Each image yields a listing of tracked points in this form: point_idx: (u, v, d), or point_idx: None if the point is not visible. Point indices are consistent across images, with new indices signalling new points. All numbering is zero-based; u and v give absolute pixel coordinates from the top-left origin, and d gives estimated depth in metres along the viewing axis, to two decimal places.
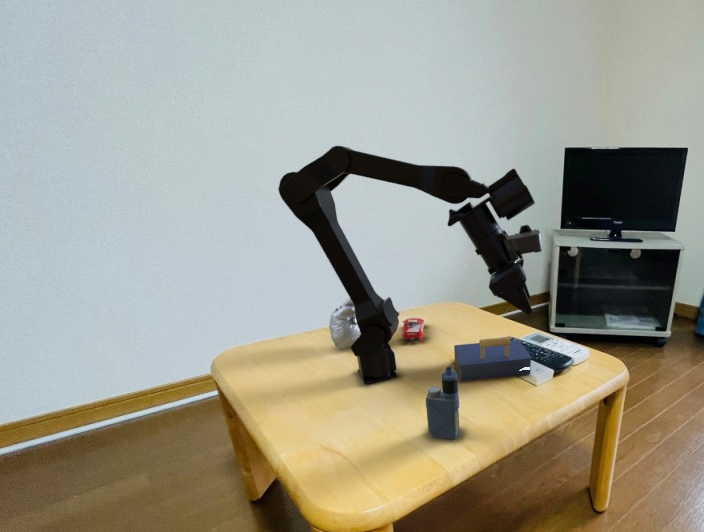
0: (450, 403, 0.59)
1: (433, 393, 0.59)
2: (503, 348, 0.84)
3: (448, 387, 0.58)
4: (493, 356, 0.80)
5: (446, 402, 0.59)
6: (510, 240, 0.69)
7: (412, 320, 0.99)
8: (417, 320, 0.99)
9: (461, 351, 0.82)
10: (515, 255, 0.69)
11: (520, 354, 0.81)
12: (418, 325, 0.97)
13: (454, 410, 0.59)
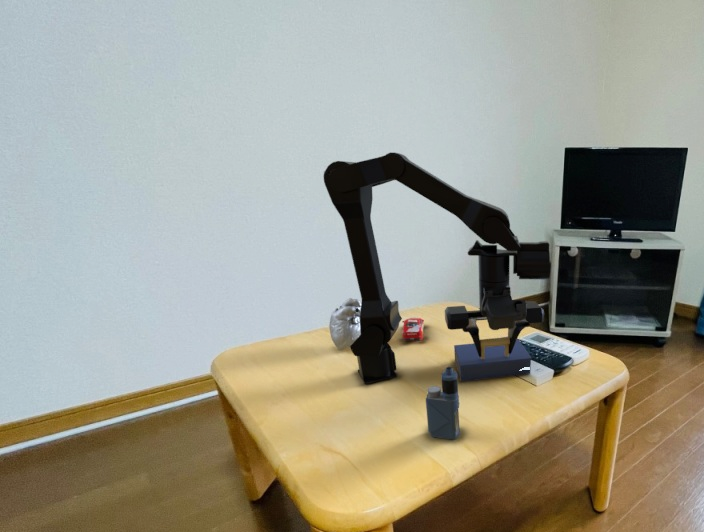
0: (450, 403, 0.59)
1: (433, 393, 0.59)
2: (503, 348, 0.84)
3: (448, 387, 0.58)
4: (493, 356, 0.80)
5: (446, 402, 0.59)
6: (487, 299, 0.71)
7: (412, 320, 0.99)
8: (417, 320, 0.99)
9: (461, 351, 0.82)
10: (482, 312, 0.72)
11: (520, 354, 0.81)
12: (418, 325, 0.97)
13: (454, 410, 0.59)
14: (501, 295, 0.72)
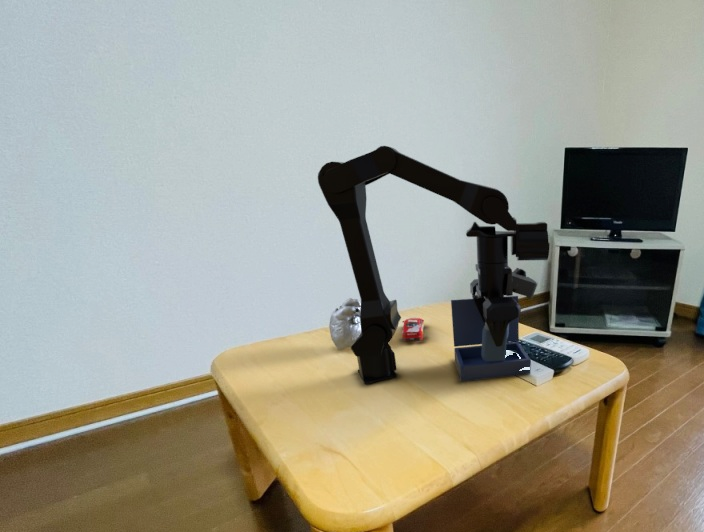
0: None
1: None
2: None
3: None
4: None
5: None
6: (513, 277, 0.73)
7: (412, 320, 0.99)
8: (417, 320, 0.99)
9: None
10: (511, 291, 0.74)
11: None
12: (418, 325, 0.97)
13: (507, 336, 0.78)
14: None
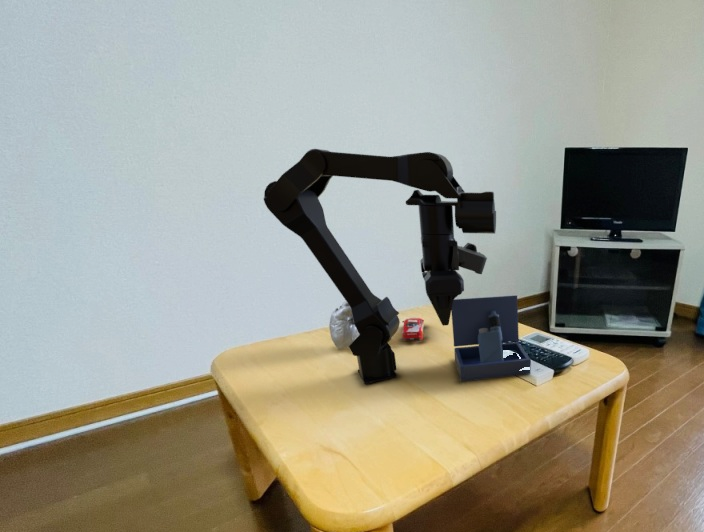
0: (498, 333, 0.83)
1: (484, 328, 0.83)
2: None
3: (495, 321, 0.83)
4: None
5: (495, 332, 0.82)
6: (459, 250, 0.69)
7: (412, 320, 0.99)
8: (417, 320, 0.99)
9: None
10: (457, 265, 0.69)
11: None
12: (418, 325, 0.97)
13: (501, 339, 0.82)
14: None
